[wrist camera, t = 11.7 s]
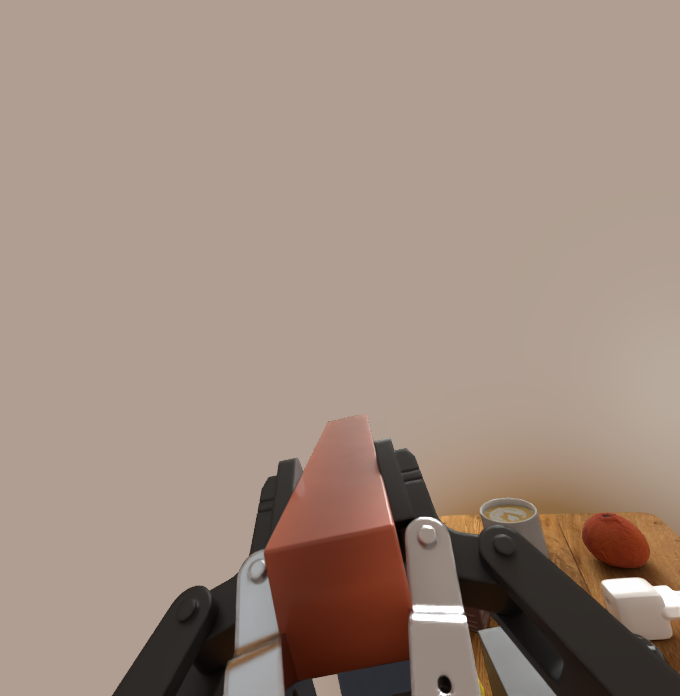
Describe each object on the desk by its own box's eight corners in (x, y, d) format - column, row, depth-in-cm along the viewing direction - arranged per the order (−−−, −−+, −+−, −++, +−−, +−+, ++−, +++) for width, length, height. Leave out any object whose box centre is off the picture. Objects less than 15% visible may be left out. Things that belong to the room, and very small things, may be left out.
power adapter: (696, 612, 43) (683, 568, 44) (731, 643, 39) (717, 593, 39) (605, 617, 46) (594, 575, 46) (628, 647, 41) (616, 600, 41)
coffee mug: (551, 585, 53) (536, 525, 54) (488, 575, 58) (475, 520, 59) (550, 540, 64) (537, 491, 65) (497, 535, 70) (486, 489, 70)
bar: (287, 685, 7) (261, 552, 7) (335, 458, 25) (327, 421, 25) (425, 659, 7) (394, 524, 7) (374, 450, 25) (366, 413, 25)
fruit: (583, 544, 61) (572, 503, 62) (644, 549, 57) (631, 504, 57) (592, 575, 53) (579, 527, 54) (663, 583, 49) (648, 530, 49)
